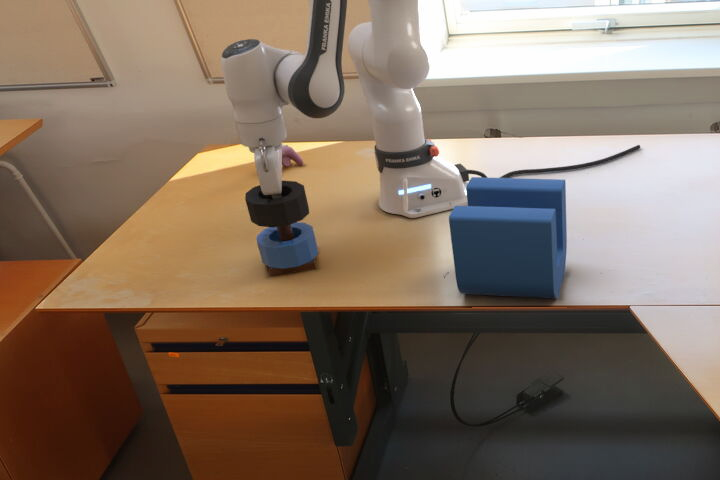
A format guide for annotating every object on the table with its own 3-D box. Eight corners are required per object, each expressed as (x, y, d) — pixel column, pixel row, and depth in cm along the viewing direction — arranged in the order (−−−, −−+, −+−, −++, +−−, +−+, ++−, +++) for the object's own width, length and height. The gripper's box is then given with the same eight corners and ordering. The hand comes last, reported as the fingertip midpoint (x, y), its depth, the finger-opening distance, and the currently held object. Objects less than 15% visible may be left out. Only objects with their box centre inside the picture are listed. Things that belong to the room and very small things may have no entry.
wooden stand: (314, 249, 166) (301, 194, 159) (315, 268, 159) (302, 212, 152) (271, 255, 164) (256, 201, 157) (270, 275, 157) (254, 219, 150)
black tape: (307, 199, 161) (303, 177, 158) (310, 222, 152) (305, 199, 149) (251, 207, 158) (245, 185, 156) (251, 230, 150) (244, 207, 147)
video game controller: (297, 167, 208) (284, 143, 206) (306, 163, 205) (293, 138, 202) (268, 180, 201) (254, 155, 199) (276, 176, 198) (262, 150, 196)
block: (554, 310, 142) (551, 220, 132) (459, 305, 145) (448, 217, 135) (567, 262, 157) (565, 178, 146) (480, 258, 159) (472, 175, 149)
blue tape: (316, 238, 167) (311, 218, 164) (319, 262, 158) (314, 241, 155) (262, 247, 164) (256, 227, 161) (262, 272, 155) (256, 251, 153)
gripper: (278, 147, 142) (295, 216, 150) (279, 113, 158) (294, 177, 166) (242, 151, 141) (261, 221, 149) (247, 116, 157) (263, 181, 165)
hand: (278, 198), depth 158 cm, fingers closed on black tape, 2 cm apart
